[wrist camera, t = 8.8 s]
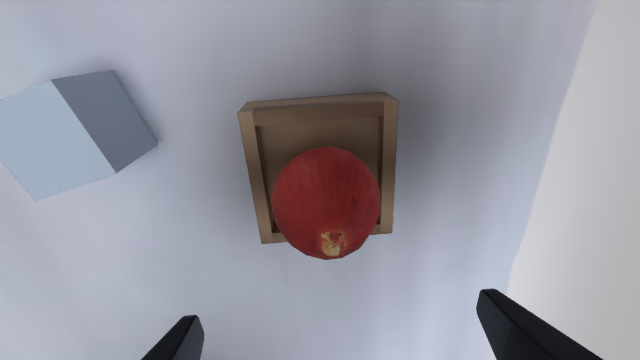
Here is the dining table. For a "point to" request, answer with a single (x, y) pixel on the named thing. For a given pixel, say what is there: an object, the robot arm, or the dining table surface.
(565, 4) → the dining table surface
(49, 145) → the slate cube
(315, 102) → the wooden square tray
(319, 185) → the onion
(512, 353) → the robot arm
